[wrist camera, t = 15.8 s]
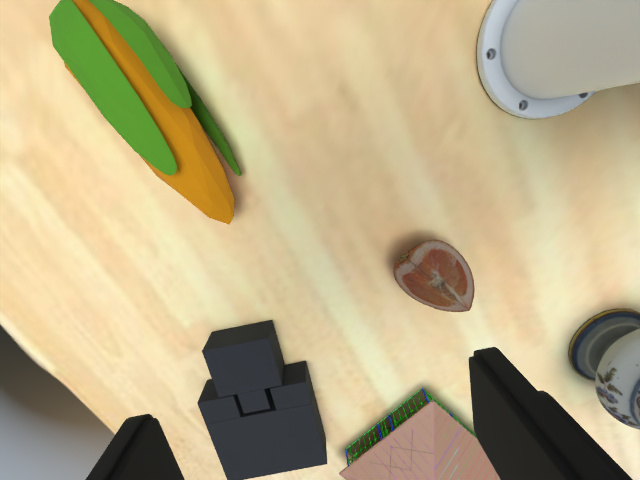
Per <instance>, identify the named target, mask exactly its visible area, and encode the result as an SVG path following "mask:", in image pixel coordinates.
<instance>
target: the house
mask: <svg viewBox="0 0 640 480" xmlns="http://www.w3.org/2000/svg"><path fill="white" fill-rule="evenodd" d="M421 390H422V391H423V393H424V396H425V398H426V400H427V402H428V404H427V405H426V406H424V407H423V405H422V407H423V408H422V409H420V410H419V411H418V409H417V407H418V406H420V405H421V404H423V403H424V402H425V401H426V400H425V401H424V402H422V403H421V404H419V405H418V406H417V407H416V408H415V409H417V411H418V412H417V413H415V414H414V415H413V414H412V416H411V417H410V418H409V419H408V418H407V415H408V414H409V413H412V411H414V410H415V409H413V410H412V411H411V409H410V412H409V413H408V414H407V415H406V413H405V415H406V416H404V417H403V418H402V419H404V418H405V417H406V418H407V420H406V421H405V422H404V423H403V422H402V419H401V416H400V414H399V416H400V420H401V422H402V424H400V423H398V422H399V421H400V420H399V421H398V422H397V421H396V420H395V417H394V414H393V417H394V419H393V418H392V417H391V416H390V415H391V414H392V413H393V412H394V411H396V410H398V408H399V407H401V406H402V407H403V404H404V403H406V402H407V403H408V400H409V399H411V398H412V399H413V396H414V395H416V394H417V393H418V392H419V391H421ZM419 391H418V392H416V393H415V394H414V395H413V396H411V397H410V398H409V399H408V400H406V401H405V402H404V403H403V404H401V405H400V406H399V407H398V408H396V409H395V410H394V411H393V412H391V413H390V414H389V415H387V416H386V417H385V418H387V417H388V418H389V421H390V425H391V427H390V428H392V432H391V433H389V432H388V430H389V429H390V428H389V429H384V428H383V426H381V425H382V421H384V419H385V418H384V419H382V420H381V421H380V422H381V425H379V423H380V422H379V423H377V424H376V425H375V426H377V427H378V431H379V435H380V436H379V437H380V439H381V441H379V442H378V443H376V445H374V446H373V447H372V446H371V443H372V442H374V441H375V442H376V440H377V439H378V438H379V437H378V438H376V439H375V440H373V441H372V442H371V441H370V437H369V441H370V444H369V445H370V446H371V448H370V449H369V450H368V451H367V449H366V452H365V453H364V454H363V455H362V450H363V449H365V448H367V447H368V446H369V445H368V446H366V444H365V447H364V448H363V449H362V450H361V446H360V452H361V456H360V457H359V458H358V457H357V455H358V454H359V453H360V452H359V453H356V455H354V454H353V453H352V452H351V447H350V446H351V445H353V444H354V446H355V442H357V441H358V440H359V439H360V438H362V437H363V438H364V435H365V434H367V433H368V436H369V431H370V430H372V429H373V428H374V427H375V426H374V427H372V428H371V429H370V430H369V431H367V432H366V433H365V434H364V435H362V436H361V437H360V438H359V439H357V440H356V441H355V442H354V443H352V444H351V445H350V446H349V447H350V451H349V450H348V448H349V447H347V448H346V456H347V464H348V466H347V467H346V468H345V469H344V470H342V471H341V472H340V473H339V474H340V475H341V476H342V477H344V478H345V479H346V480H500V478H499V476H498V474H497V473H496V471H495V469H494V467H493V466H492V464H491V462H490V460H489V459H488V457H487V455H486V454H485V452H484V450H483V448H482V447H481V445H480V443H479V441H478V439H477V438H476V435H475V434H474V433H473V432H472V431H471V430H470V429H468V428H467V427H466V426H465V425H464V424H463V423H462V422H460V421H459V420H458V419H457V418H456V417H455V416H454V415H453V414H451V413H450V412H449V411H448V410H447V409H446V408H445V407H443V406H442V405H441V404H440V403H439V402H438V401H437V400H436V399H434V398H433V397H432V396H431V395H430V394H429V393H428V392H426V391H425V390H424V389H423V388H421V389H420V390H419ZM425 392H426V393H425ZM426 394H427V396H426ZM417 395H418V394H417ZM428 395H429V396H430V398H431V400H432V401H431V400H430V398H429V396H428ZM427 397H428V398H427ZM418 398H419V396H418ZM432 398H433V399H434V400H433V399H432ZM419 400H420V398H419ZM413 402H414V400H413ZM420 402H421V400H420ZM436 402H437V403H438V404H437V403H436ZM414 404H415V402H414ZM440 405H441V406H442V407H441V406H440ZM408 406H409V403H408ZM415 406H416V405H415ZM409 408H410V406H409ZM403 409H404V407H403ZM444 409H445V410H446V411H445V410H444ZM404 412H405V410H404ZM448 412H449V413H448ZM398 413H399V411H398ZM390 417H391V418H392V419H393V421H394V425H393V424H392V421H391V418H390ZM457 420H458V421H459V422H458V421H457ZM395 423H396V424H395ZM397 424H398V426H397ZM461 424H462V425H463V426H462V425H461ZM384 425H385V422H384ZM399 425H400V426H399ZM379 426H380V427H381V431H382V434H381V431H380V427H379ZM393 426H395V428H396V429H395V428H394V427H393ZM396 426H397V427H396ZM465 427H466V428H465ZM385 428H386V425H385ZM382 429H384V430H385V432H384V430H382ZM394 429H395V430H394ZM469 431H470V432H471V433H470V432H469ZM386 432H387V433H386ZM384 433H386V437H385V434H384ZM388 433H389V434H388ZM472 433H473V434H474V436H475V437H474V436H473V434H472ZM373 434H374V430H373ZM382 435H383V437H382ZM384 437H385V438H384ZM374 438H375V434H374ZM382 438H383V439H382ZM364 443H365V438H364ZM359 445H360V440H359ZM348 451H349V452H350V453H351V459H350V460H351V461H352V463H350V462H349V461H350V460H349V459H348ZM355 452H356V447H355ZM352 454H353V455H354V456H353V457H355V461H354V462H353V460H352V458H353V457H352ZM357 458H358V459H357ZM349 463H350V465H349Z"/></svg>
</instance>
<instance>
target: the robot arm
mask: <svg viewBox="0 0 640 480" xmlns="http://www.w3.org/2000/svg"><path fill="white" fill-rule="evenodd" d="M486 54H487V55H488V58H487V56H486ZM477 64H478V70H479V75H480V78H481V81H482V83H483V86H484V88H485V90H486V92H487V93H488V95H489V96H490V98H491V99H492V100H493V101H494V102H495V103H496V104H497V105H498V106H499V107H500V108H501V109H503V110H505V111H506V112H508V113H510V114H512V115H515V116H518V117H521V118H530V119H537V118H547V117H552V116H557V115H560V114H563V113H565V112H568V111H570V110H572V109H574V108H575V107H577V106H579V105H580V104H582V103H583V102H585V101H586V100H587V99H588V98H589V97H590V96H591V95H593V94H594V93H595V92H596V91H597V90H602V89H607V88H613V87H618V86H623V85H628V84H634V83H639V82H640V0H493V1H492V3H491V5H490V7H489V9H488V11H487V13H486V15H485V17H484V20H483V23H482V26H481V29H480V32H479V38H478V44H477ZM469 370H470V383H471V397H472V410H473V423H474V430H475V434H476V437H477V439H478V441H479V443H480V445H481V447H482V448H483V450H484V452H485V454H486V455H487V457H488V459H489V460H490V462H491V464H492V466H493V467H494V469H495V471H496V473H497V474H498V476H499V478H500V480H632V479H631V478H630V477H629V475H628V474H627V473H626V472H625V471H624V470H623V469H622V468H621V467H620V466H619V465H618V464H617V463H616V462H615V461H614V460H613V459H612V458H611V457H610V456H609V455H608V454H607V453H606V452H605V451H604V450H603V449H602V448H601V447H600V446H599V445H598V444H597V443H596V442H595V440H594V439H593V438H592V437H591V436H590V435H589V434H588V433H587V432H586V431H585V430H584V429H583V428H582V427H581V426H580V425H579V424H578V423H577V422H576V421H575V420H574V419H573V418H572V417H571V416H570V415H569V414H568V413H567V412H566V411H565V410H564V409H563V408H562V407H561V405H560V404H559V403H558V402H557V401H556V400H555V399H554V398H553V397H552V396H550V395H549V394H548V393H546V392H544V391H537V390H536V389H535V388H534V387H533V386H532V385H531V384H530V382H529V381H528V380H527V379H526V378H525V377H524V376H523V375H522V374H521V373H520V372H519V371H518V370H517V369H516V367H515V366H514V365H513V364H512V363H511V362H510V361H509V360H508V359H507V358H506V357H505V356H504V355H503V354H502V353H501V351H500V350H499V349H497V348H496V347H491V348H486V349H481V350H476V351H474V356H473V357H469ZM86 480H184V477H183V475H182V473H181V471H180V468H179V466H178V464H177V462H176V459H175V457H174V455H173V453H172V450H171V448H170V446H169V444H168V441H167V439H166V437H165V435H164V432H163V430H162V428H161V426H160V423H159V421H158V420H157V419H156V418H153V417H152V415H150V414H145V415H140V416H135V417H130V418H128V419H126V420H125V422H124V423H123V424H122V426H121V427H120V429H119V430H118V432H117V433H116V435H115V436H114V438H113V439H112V441H111V442H110V444H109V445H108V447H107V449H106V450H105V452H104V453H103V455H102V456H101V457H100V459H99V460H98V462H97V463H96V465H95V466H94V468H93V469H92V471H91V472H90V474H89V475H88V477H87V478H86Z"/></svg>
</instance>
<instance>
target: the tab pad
mask: <svg viewBox="0 0 640 480" xmlns="http://www.w3.org/2000/svg"><path fill="white" fill-rule="evenodd" d="M202 352H203V355H204V358H205V360H206V363H207V366H208V369H209V371H210V374H211V377H212V380H213V382H214V385H215V388H216V391H217V393H218V396H219V397H224V396H230V395H235V394H237V395H238V398H239V401H240V404H241V407H242V410H243V413H249V412H255V411H260V410H265V409H270V406H271V399H272V395H271V391H270V388H271V387H276V386H281V385H282V383H283V373H284V360H283V357H282V353H281V349H280V346H279V342H278V339H277V335H276V332H275V328H274V324H273V321H272V320H270V321H265V322H260V323H255V324H250V325H245V326H240V327H235V328H230V329H225V330H220V331H215V332H212V333H211V335H210V337H209V339H208V341H207V343H206V345H205V347H204V349H203V350H202Z"/></svg>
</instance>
